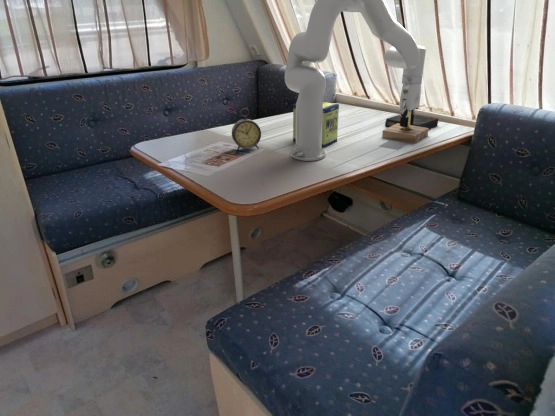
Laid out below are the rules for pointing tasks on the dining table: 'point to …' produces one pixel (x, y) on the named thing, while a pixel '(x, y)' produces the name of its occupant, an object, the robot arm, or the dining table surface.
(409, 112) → the pin
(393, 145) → the mat
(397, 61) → the robot arm
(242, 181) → the dining table surface
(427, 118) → the portable cd player
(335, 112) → the protein box
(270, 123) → the dining table surface
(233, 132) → the alarm clock
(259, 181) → the dining table surface
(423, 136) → the block
